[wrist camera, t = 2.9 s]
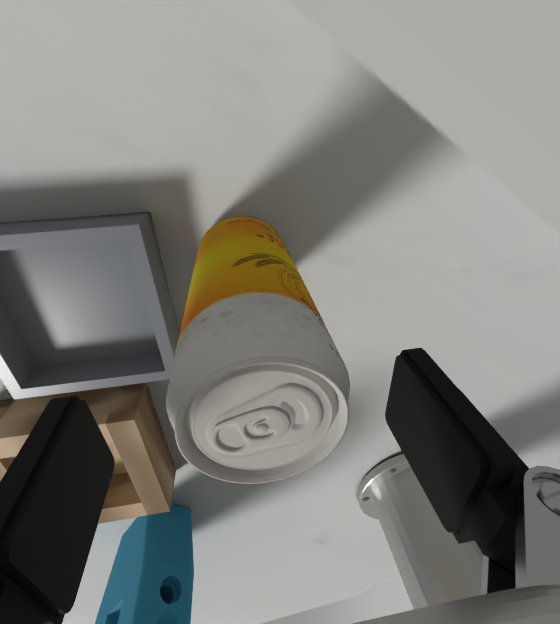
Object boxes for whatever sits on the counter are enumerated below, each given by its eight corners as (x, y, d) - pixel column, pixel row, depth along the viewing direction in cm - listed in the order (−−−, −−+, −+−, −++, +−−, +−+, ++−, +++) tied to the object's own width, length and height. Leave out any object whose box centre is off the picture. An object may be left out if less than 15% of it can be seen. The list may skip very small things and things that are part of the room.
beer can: (295, 278, 24) (376, 454, 11) (220, 307, 24) (214, 511, 12) (268, 199, 21) (336, 317, 8) (181, 233, 21) (115, 398, 8)
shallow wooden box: (145, 381, 27) (134, 419, 23) (175, 471, 33) (170, 511, 29) (-12, 402, 26) (-48, 445, 22) (50, 490, 32) (28, 535, 28)
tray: (149, 211, 20) (138, 224, 18) (183, 353, 26) (179, 378, 23) (-44, 226, 19) (-86, 242, 17) (35, 370, 25) (13, 399, 22)
